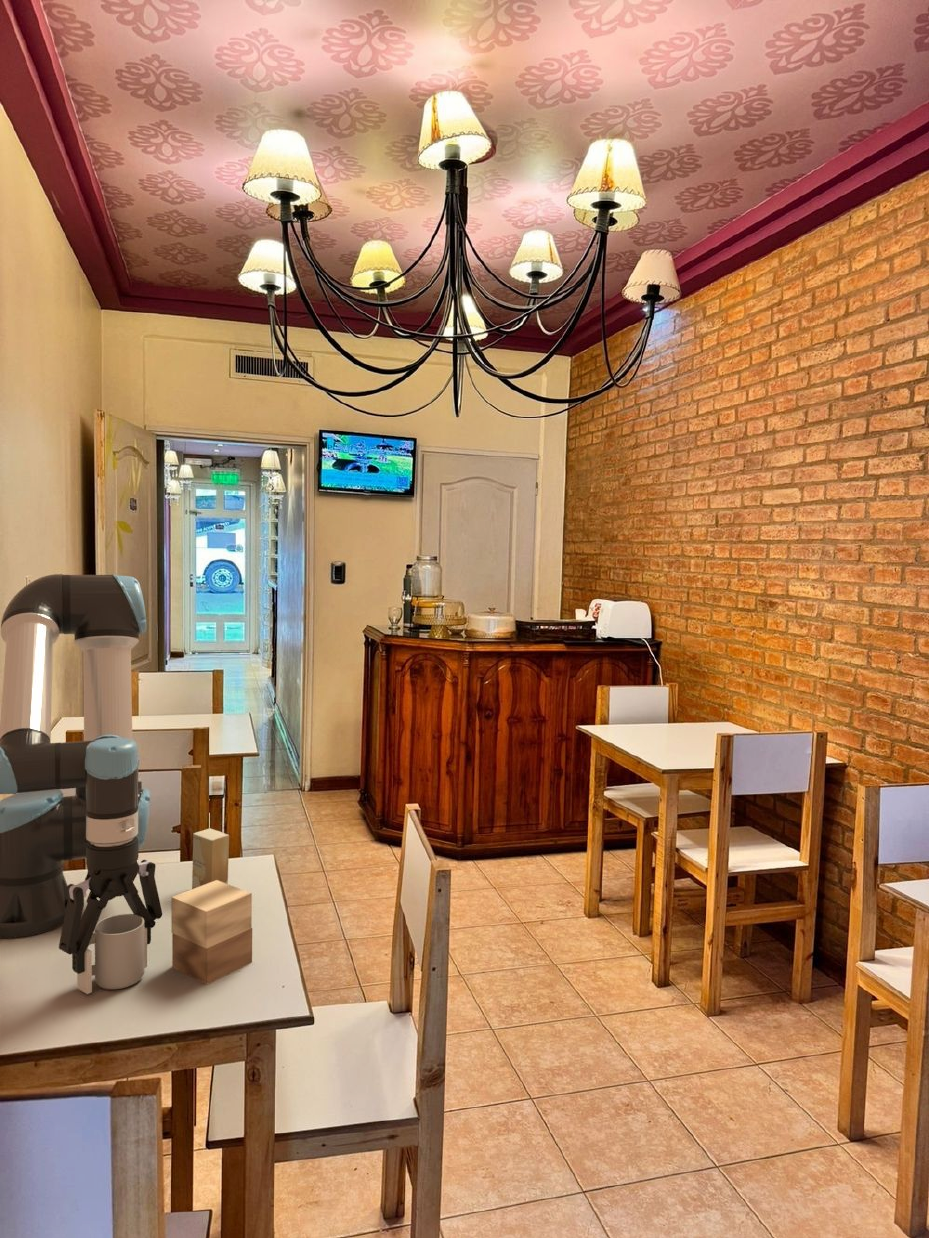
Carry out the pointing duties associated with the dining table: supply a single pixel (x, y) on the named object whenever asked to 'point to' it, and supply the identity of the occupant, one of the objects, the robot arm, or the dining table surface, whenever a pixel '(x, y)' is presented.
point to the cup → (118, 951)
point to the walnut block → (211, 956)
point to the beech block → (211, 913)
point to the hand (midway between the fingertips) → (113, 977)
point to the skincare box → (210, 857)
